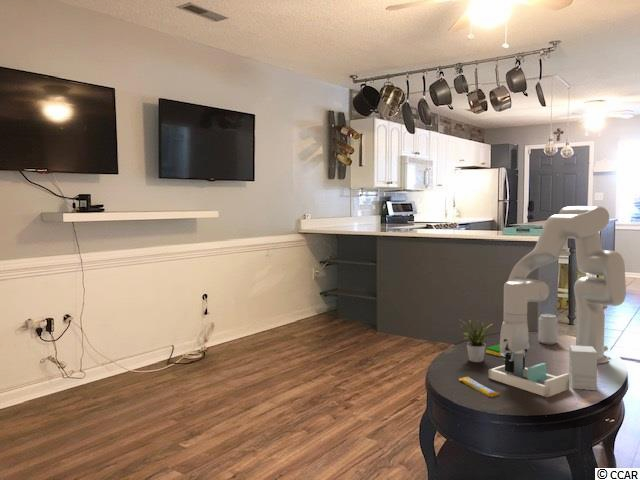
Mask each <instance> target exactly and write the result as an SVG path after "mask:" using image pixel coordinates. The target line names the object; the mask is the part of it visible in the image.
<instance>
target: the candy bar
mask: <svg viewBox="0 0 640 480" xmlns="http://www.w3.org/2000/svg"><path fill="white" fill-rule="evenodd" d="M458 380H459V381H460V382H461V383H463V384H464V385H466V386H468V387H470V388H472V389H473V390H475V391H478V392H479V393H481V394H483V395H484V396H487V397H488V398H493V397H496V396H499V394H500V392H499V391H498V392H497V391H495V390H492V389H491V388H489V387H486V386H485V385H484V384H481V383H479V382H478V381H476V380H474V379H473V378H470V376H464V377H459V378H458Z"/></svg>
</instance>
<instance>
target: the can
mask: <svg viewBox="0 0 640 480" xmlns="http://www.w3.org/2000/svg"><path fill="white" fill-rule="evenodd" d="M558 325H559V319H558V318H557V315H555V314H551V313H542V314H540V316H539V317H538V338H537V339H538V342H540V343H541V344H544V345H555V344H556V343H558V338H559V337H558V333H559V331H558V330H559V327H558Z"/></svg>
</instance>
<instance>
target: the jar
mask: <svg viewBox="0 0 640 480" xmlns="http://www.w3.org/2000/svg"><path fill="white" fill-rule="evenodd" d="M508 351H510V349H509V350H508ZM508 355H509V356H510V353H508ZM513 361H514V373H510V372H507V374H510V375H513V376H517V377H520V378H524V377H523V350H521V351H517V352H514V356H513Z"/></svg>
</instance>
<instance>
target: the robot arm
mask: <svg viewBox="0 0 640 480" xmlns="http://www.w3.org/2000/svg"><path fill="white" fill-rule="evenodd" d="M609 222H610V214H609V211H608V210H607V209H606V208H605V207H604V206H597V205H573V206H572V205H570V206H565V207H562V208H561V209H560V210H559V212H558V214H553V215H551V216H548V218H547V219H546V221H545V223H544V225H543V228H542V230H541V232H540V234H539V237H538V240H537V242H536V244H535V246H534V247H533V249H532V250H531V251H530V252H529V253H527V254H526V255H524V256H523V257H522V258H520V259H519V261H518V262H516V264H515V265H514V266H513V268H512V270H511V272H510V274H509V276H508V280H507V281H506V282H505V283H504V285H503V321H502V324H501V327H500V336H499V344H500V354H501V355H502V356H501V357H503V360H504V365H505V371H507V372H510V373H514V361H513V356H514V352H517V351H521V350H523V369H525V367H526V363H525V362H526V356H527V353H528V350H529V348H530V343H529V340H530V336H529V327H528V326H529V325H528V303H531V302H532V303H541V302H543V301H545V300H546V299H547V298H548V297H549V294H550V287H549V286H548V284H547V283H546V282H545V281H542V280H539V279H533V278H527V277H528V276H529V274H530V273H531V272H533V271H534V270H536V269H538V268H540V267H543V266H546V265H549V264H551V263H554V262H556V261H558V259H559V258H560V256H561V253H562V251H563V248H564V246H565V243H566V242H567V240H568V239H574V243H575V256H576V258H575V259H576V267H577V269H578V271H579V272H581V273H582V274H587V275H593V276H582V277H580V278H578V279H577V280H576V281H575V283H574V285H573V293H574V298H575V304H576V307H575V308H576V315H575V316H576V322H575V323H576V324H575V330H576V331H575V346H592V347H593V348H594V349H595V351H596V352H597V365H601V364H606V363H608V362H609V357H608V356H606V355H605V352H607V351H608V350H609V347H608V346H606V345H605V322H606V321H605V320H606V316H605V311H604V309H603V306H602V305H605V306H613V307H617V306H620V305H622V304H623V303H624V302H625V300H626V295H627V294H626V293H627V288H626V287H627V286H626V267H625V259H624V257H623V256H622V255H621V254H620V252H619V251H615V250H608V249H607V250H606V249H603V248H602V241H601V235H600V234H601V233H600V232H601V231H603V230H604V229H605V228H606V227H608V224H609ZM594 276H601V277H594ZM602 276H603V277H604V278H602ZM509 349H510V351H508V350H509ZM508 353H510V356H509V355H508Z"/></svg>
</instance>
